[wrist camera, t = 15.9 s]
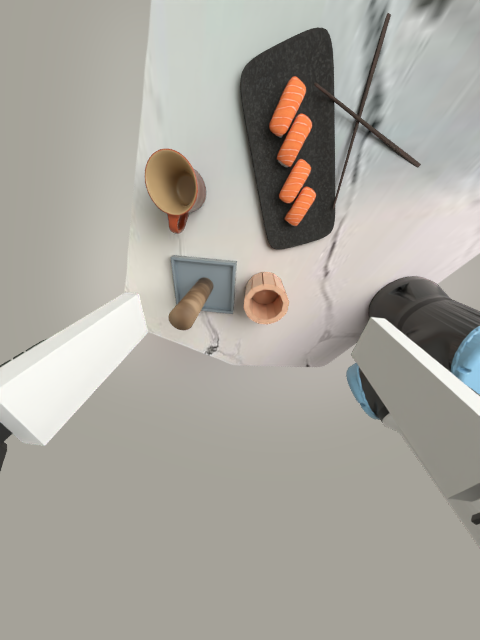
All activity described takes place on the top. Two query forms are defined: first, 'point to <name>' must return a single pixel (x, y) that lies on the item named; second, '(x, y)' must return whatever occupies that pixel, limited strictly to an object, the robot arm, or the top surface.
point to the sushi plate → (298, 135)
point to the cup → (265, 298)
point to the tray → (213, 269)
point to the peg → (191, 304)
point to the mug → (174, 186)
